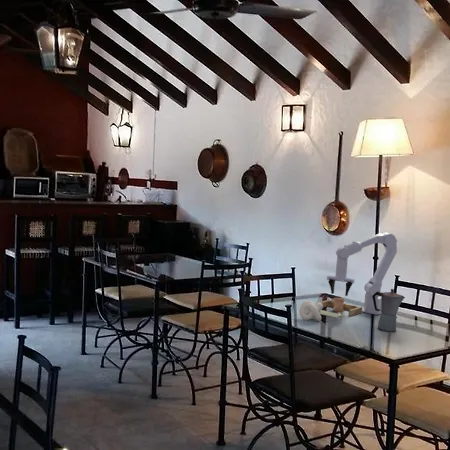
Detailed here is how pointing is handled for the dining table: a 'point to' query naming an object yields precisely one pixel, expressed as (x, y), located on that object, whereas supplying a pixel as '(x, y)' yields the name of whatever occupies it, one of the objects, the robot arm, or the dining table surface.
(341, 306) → the terracotta pot
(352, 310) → the tan wooden bent bar
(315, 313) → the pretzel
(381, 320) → the moka pot
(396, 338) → the dining table surface
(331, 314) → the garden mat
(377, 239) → the robot arm
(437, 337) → the dining table surface
